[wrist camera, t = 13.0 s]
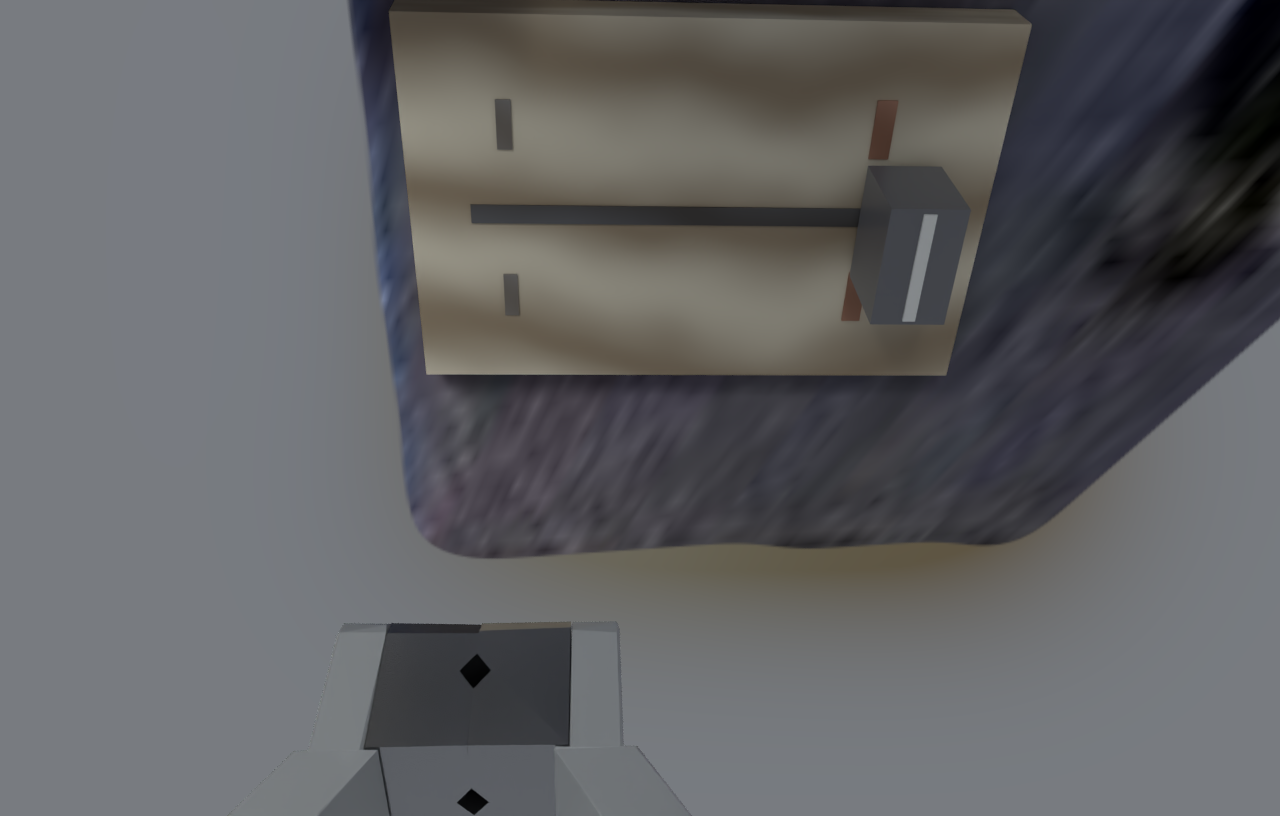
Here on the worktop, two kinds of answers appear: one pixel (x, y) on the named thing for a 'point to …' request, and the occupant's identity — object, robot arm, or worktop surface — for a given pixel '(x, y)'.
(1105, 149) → the worktop surface
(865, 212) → the fader knob
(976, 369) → the worktop surface
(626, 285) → the console
